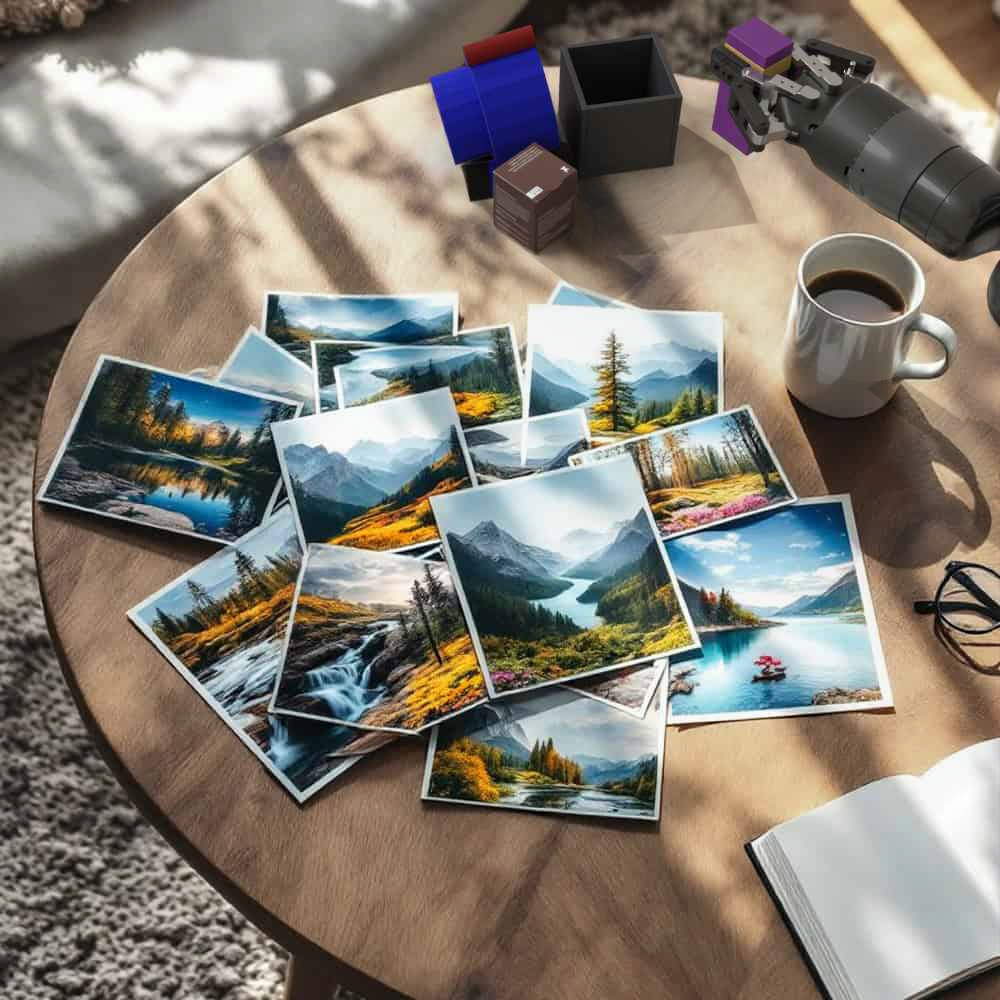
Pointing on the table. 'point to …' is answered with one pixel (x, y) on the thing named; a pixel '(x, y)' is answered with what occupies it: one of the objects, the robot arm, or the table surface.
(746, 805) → the table surface
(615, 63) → the bin
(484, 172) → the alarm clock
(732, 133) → the perfume bottle
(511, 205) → the box
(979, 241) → the robot arm
